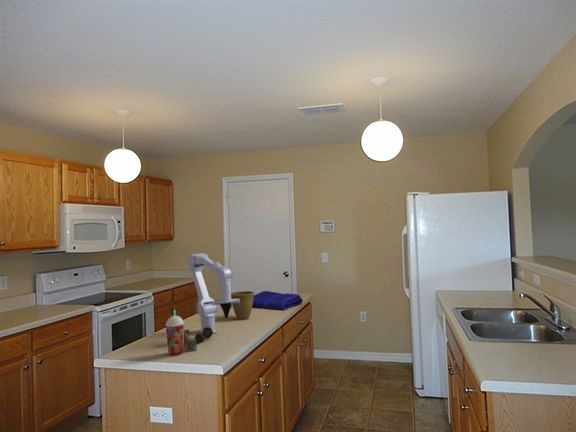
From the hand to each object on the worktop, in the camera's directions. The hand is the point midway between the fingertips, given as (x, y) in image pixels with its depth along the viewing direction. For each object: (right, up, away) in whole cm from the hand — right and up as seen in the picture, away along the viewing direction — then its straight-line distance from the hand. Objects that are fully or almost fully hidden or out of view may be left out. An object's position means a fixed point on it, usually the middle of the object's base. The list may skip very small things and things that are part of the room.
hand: (226, 317), depth 208 cm
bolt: (-12, -11, -5) cm, 17 cm away
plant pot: (+4, -11, +41) cm, 43 cm away
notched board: (-17, -10, -12) cm, 23 cm away
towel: (+22, -12, +80) cm, 83 cm away
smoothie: (-19, -10, -25) cm, 33 cm away
